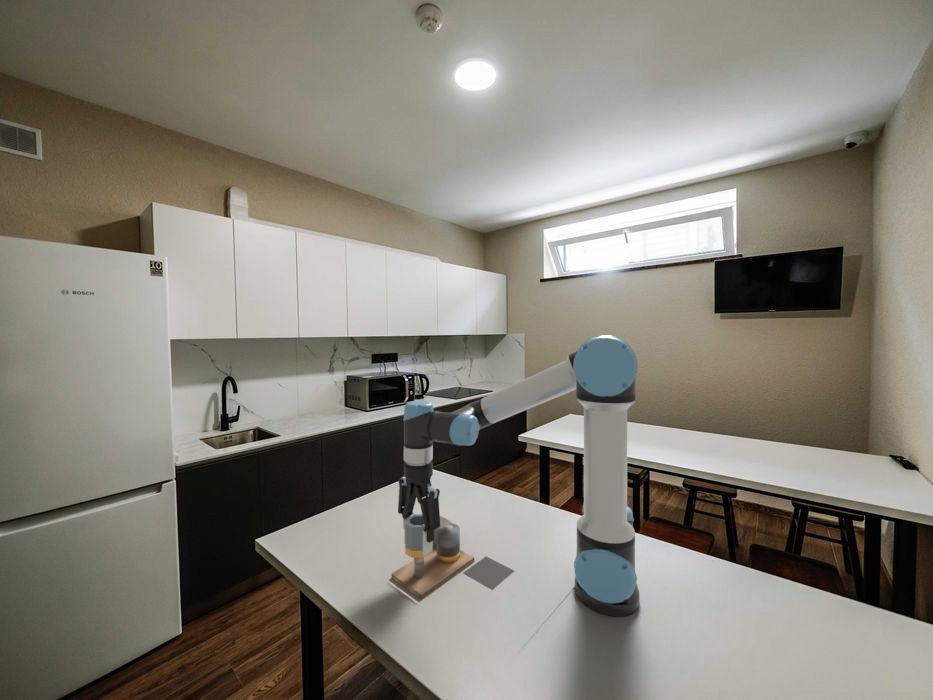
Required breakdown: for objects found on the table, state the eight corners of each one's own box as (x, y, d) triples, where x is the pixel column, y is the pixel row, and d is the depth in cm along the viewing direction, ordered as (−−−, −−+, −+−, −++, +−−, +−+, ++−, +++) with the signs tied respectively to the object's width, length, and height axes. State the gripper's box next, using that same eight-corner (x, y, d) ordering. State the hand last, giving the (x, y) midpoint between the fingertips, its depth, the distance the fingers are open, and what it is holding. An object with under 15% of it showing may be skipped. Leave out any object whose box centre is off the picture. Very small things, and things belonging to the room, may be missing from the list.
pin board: (474, 562, 105) (474, 528, 104) (421, 600, 90) (421, 560, 89) (444, 546, 113) (444, 514, 112) (391, 579, 98) (391, 542, 97)
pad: (514, 572, 101) (514, 570, 101) (492, 591, 93) (492, 589, 93) (485, 557, 107) (485, 556, 107) (463, 574, 100) (462, 572, 100)
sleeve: (436, 549, 97) (436, 520, 97) (417, 561, 92) (417, 530, 92) (419, 540, 102) (419, 511, 101) (400, 550, 97) (400, 520, 96)
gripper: (455, 466, 92) (455, 555, 93) (405, 449, 105) (405, 528, 106) (433, 474, 87) (433, 569, 88) (383, 456, 99) (384, 538, 101)
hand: (418, 546), depth 97 cm, fingers closed on sleeve, 7 cm apart
